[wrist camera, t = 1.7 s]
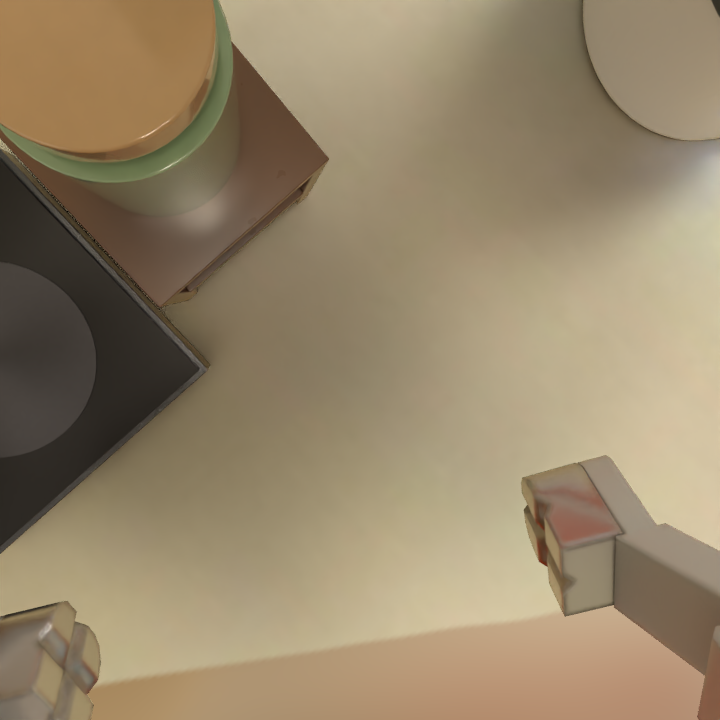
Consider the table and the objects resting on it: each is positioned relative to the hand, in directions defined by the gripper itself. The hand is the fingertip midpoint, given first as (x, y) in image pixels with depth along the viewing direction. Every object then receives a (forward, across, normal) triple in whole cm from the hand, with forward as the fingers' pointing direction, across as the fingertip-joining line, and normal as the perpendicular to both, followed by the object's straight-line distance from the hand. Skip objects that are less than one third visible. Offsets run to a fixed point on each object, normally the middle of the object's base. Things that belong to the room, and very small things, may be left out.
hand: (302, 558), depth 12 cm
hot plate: (+24, +16, +7) cm, 30 cm away
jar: (+19, +3, -3) cm, 20 cm away
